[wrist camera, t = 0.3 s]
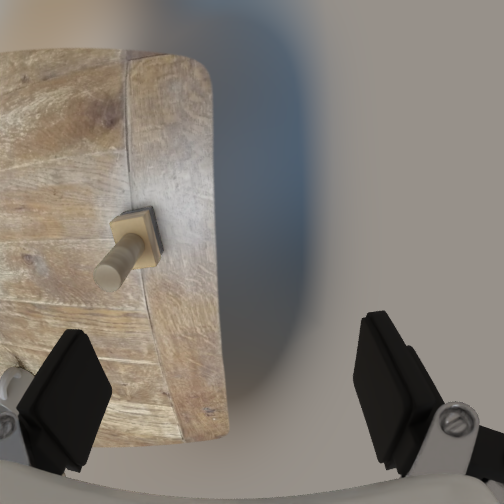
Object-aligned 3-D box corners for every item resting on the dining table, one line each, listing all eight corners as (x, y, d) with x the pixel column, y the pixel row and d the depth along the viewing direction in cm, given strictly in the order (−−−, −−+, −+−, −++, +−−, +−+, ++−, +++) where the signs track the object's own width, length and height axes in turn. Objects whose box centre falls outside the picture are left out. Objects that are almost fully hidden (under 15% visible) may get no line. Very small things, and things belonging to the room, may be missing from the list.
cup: (19, 388, 43) (0, 422, 35) (2, 349, 39) (-23, 384, 31) (49, 400, 44) (31, 436, 36) (34, 361, 40) (10, 399, 32)
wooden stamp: (122, 211, 30) (77, 252, 21) (153, 205, 30) (116, 245, 21) (134, 255, 33) (99, 308, 23) (164, 251, 32) (136, 304, 23)
